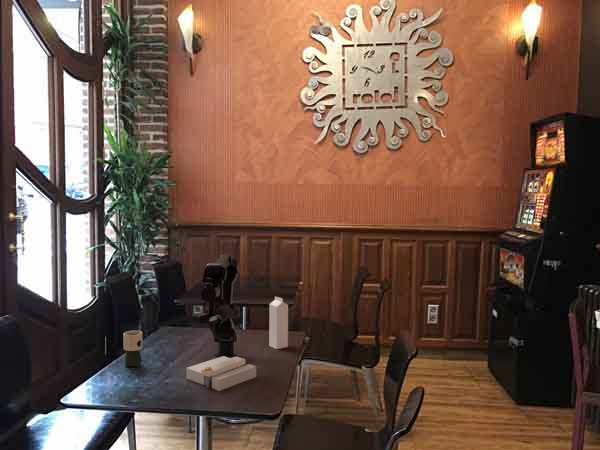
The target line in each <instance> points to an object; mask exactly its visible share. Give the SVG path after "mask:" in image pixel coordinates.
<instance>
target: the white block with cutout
mask: <svg viewBox="0 0 600 450" xmlns="http://www.w3.org/2000/svg"><path fill="white" fill-rule="evenodd" d="M230 358H231V357H229V358H228V357H225V356H222V357H216V358H212V359H209V360H207V361H204V362H200V363H196V364H194V365H191V366H188V367H186V379H187V380H189V381H193V382H195V383H198V384H200V385H203V386H205V388H210V387H211V388H212V389H213V390H215V391H218V392H220V391H223V390H226V389H228V388H231V387H234V386H236V385H239V384H241V383H243V382H246V381H249V380H252V379H254V378H257V366H256V365H254V364H250V363H248V364H244V365H241V366H239V368H237V367H236V369H234V368H233V370H232V369H231V371H229V370H228V372H227V371H225V373H224V372H223V373H220V374H218V375H215V376H210V377H207V376H204V375H201V369H204V368H205V367H208V366H211V365H213V364H216V363H219V362H222V361H225V360H228V359H230Z"/></svg>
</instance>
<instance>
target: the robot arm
mask: <svg viewBox="0 0 600 450" xmlns="http://www.w3.org/2000/svg"><path fill="white" fill-rule="evenodd" d="M240 268H241V267H240V263H239V261H238V260H236V259H235V258H234V257H233V254H224V253H223V254H220V255H219V257H218V258H217V260H215V261H214V262H209V263H207V264H206V266H205V267H204V269H203V275H202V282H201V283H202V284H205V286H204V287H203V288H202V289H201V292H200V298H201V299H202V300H203V301H204V302H206V303H207V309H205V313H204V312H196V313H193V314H192V315H191V322H193V323H197V324H201V325H202V324H207V325H208V328H209V329H210V331H211V334H212V336H213V342H214V343H217V353H214V356H215V357H217V358H219V357H222V356H225V357H228V358H233V357H236V356H237V354H236V353H234V351H235V348H234V347H235V346H234V344H235V343H236V342H238V336H237V331H236V328H235V324H234V322H233V320H232V318H234V317H236V316H239V311H238V308H237V304H236V303H233V296H234V295H233V294H234V293H233V292H234V284H235V282H237V280H238V277H239V274H240V271H241V270H240Z"/></svg>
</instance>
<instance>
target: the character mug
mask: <svg viewBox="0 0 600 450" xmlns="http://www.w3.org/2000/svg"><path fill="white" fill-rule="evenodd" d="M122 336H123V337H122V338H123V344H122V345H123V350H124V351H126V353H125V359H124V360H125V361H124V365H125V366H129V367H138V366H141V365H142V362H143V361H142V354H141V351H140V350H142V349H143V331H140V330H129V331H125V332H124V333H123V335H122Z"/></svg>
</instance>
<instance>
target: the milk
mask: <svg viewBox="0 0 600 450" xmlns="http://www.w3.org/2000/svg"><path fill="white" fill-rule="evenodd" d="M268 307H269V325H268V328H269V331H268V332H269V334H268V335H269V336H268V337H269V340H268V341H269V342H268V345H269V347H271V348H273V349H275V350H279V349H284V348H288V347H289V346H288V345H289V305H288V304H287V303H286V302H284V299H283V298H282V297H278V296H274V300H273V301H271V302H270V303H269V306H268Z"/></svg>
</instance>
